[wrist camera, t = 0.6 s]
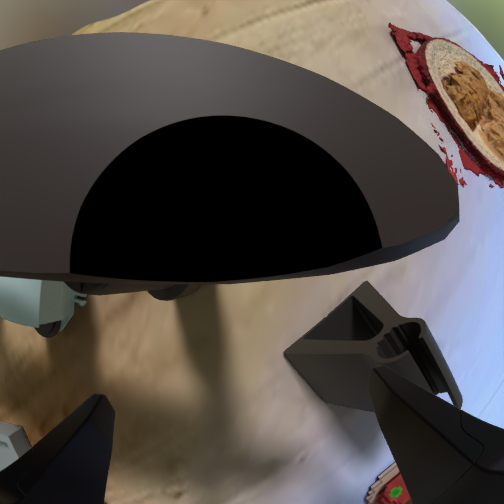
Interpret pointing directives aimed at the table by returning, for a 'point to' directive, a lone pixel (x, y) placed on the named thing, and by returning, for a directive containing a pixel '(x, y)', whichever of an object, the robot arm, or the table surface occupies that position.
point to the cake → (389, 488)
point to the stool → (195, 173)
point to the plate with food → (461, 99)
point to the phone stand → (369, 351)
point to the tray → (12, 443)
